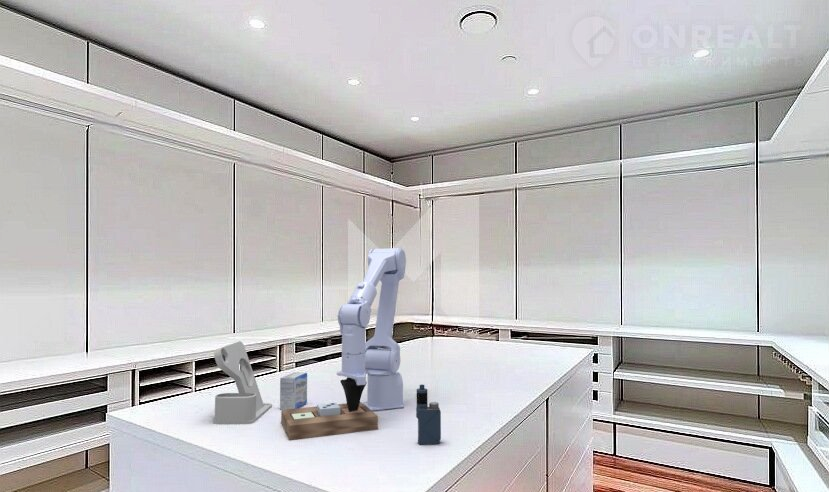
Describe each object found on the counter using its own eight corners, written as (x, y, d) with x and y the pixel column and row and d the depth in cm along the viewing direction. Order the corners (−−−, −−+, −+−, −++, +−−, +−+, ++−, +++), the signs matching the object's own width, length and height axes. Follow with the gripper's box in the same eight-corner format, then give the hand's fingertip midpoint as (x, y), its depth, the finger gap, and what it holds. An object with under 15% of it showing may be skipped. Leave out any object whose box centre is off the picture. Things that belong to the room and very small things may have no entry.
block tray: (360, 413, 122) (360, 401, 122) (377, 429, 109) (377, 415, 109) (281, 422, 114) (281, 409, 114) (289, 440, 101) (289, 425, 101)
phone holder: (252, 424, 113) (254, 348, 114) (209, 424, 113) (212, 348, 114) (273, 405, 130) (274, 339, 131) (236, 406, 130) (238, 339, 131)
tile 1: (310, 420, 112) (311, 411, 112) (314, 425, 108) (314, 416, 108) (291, 422, 111) (291, 413, 111) (294, 428, 106) (294, 418, 106)
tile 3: (335, 411, 115) (335, 402, 115) (340, 415, 111) (340, 406, 111) (316, 413, 113) (317, 403, 113) (320, 418, 109) (320, 408, 109)
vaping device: (415, 441, 101) (415, 383, 102) (440, 440, 101) (439, 383, 102) (416, 445, 98) (416, 386, 99) (441, 444, 99) (441, 386, 100)
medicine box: (294, 411, 125) (295, 377, 125) (279, 410, 126) (279, 377, 126) (307, 403, 132) (307, 372, 133) (292, 402, 133) (293, 371, 134)
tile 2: (359, 415, 117) (359, 406, 117) (364, 420, 113) (364, 410, 113) (341, 417, 115) (341, 408, 115) (346, 422, 111) (346, 412, 111)
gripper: (330, 350, 120) (330, 404, 119) (344, 358, 107) (344, 419, 106) (357, 348, 123) (357, 401, 122) (374, 356, 110) (374, 416, 109)
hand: (353, 410), depth 114 cm, fingers closed, pressing on tile 2
